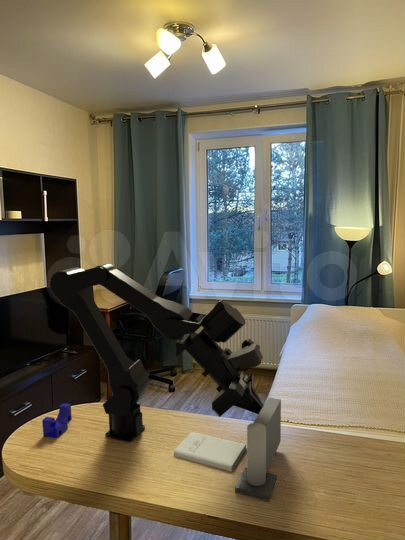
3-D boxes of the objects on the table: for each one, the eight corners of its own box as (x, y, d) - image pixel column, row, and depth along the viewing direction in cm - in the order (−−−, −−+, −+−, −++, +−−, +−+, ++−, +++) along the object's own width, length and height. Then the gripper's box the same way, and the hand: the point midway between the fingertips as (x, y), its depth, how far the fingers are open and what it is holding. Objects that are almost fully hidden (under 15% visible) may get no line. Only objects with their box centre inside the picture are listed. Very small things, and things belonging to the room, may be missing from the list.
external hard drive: (231, 474, 76) (173, 457, 81) (246, 451, 83) (192, 437, 89) (231, 466, 76) (173, 450, 81) (246, 443, 83) (192, 430, 89)
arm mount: (234, 492, 70) (234, 487, 70) (244, 472, 76) (244, 467, 76) (269, 501, 68) (269, 496, 68) (277, 479, 73) (277, 474, 73)
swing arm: (244, 483, 71) (244, 430, 69) (266, 439, 84) (267, 394, 83) (262, 487, 70) (263, 434, 68) (282, 443, 83) (282, 397, 81)
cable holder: (57, 439, 88) (56, 421, 88) (43, 437, 89) (42, 420, 89) (77, 420, 96) (76, 404, 95) (64, 419, 97) (63, 403, 96)
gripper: (228, 346, 72) (292, 412, 70) (245, 319, 89) (296, 371, 88) (186, 384, 75) (246, 448, 73) (211, 351, 93) (260, 402, 91)
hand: (265, 414), depth 81 cm, fingers closed, pressing on swing arm
